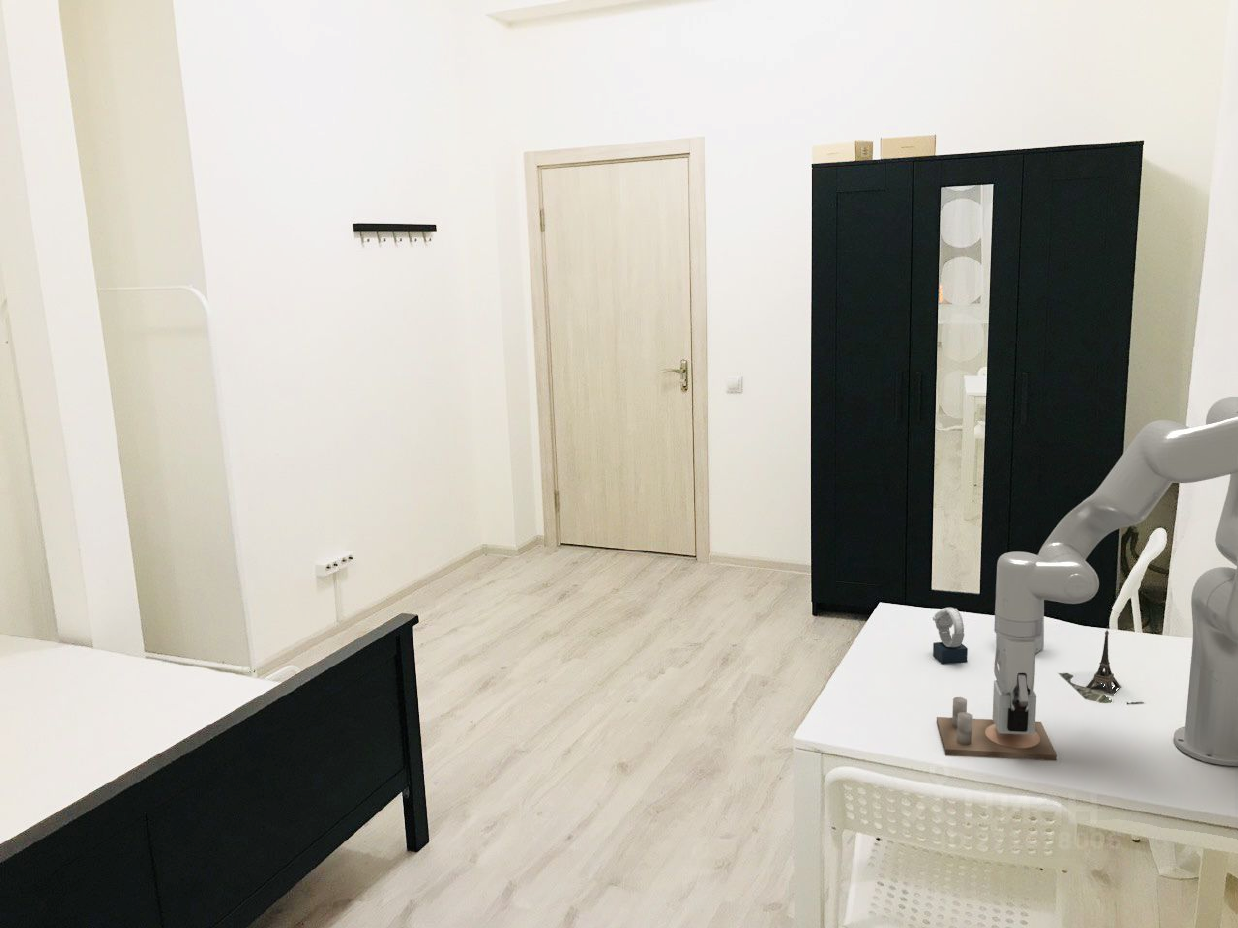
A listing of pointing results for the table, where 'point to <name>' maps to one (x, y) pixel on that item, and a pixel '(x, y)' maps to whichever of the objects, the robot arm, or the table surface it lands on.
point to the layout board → (989, 737)
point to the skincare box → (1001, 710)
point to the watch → (949, 637)
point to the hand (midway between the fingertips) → (1013, 720)
